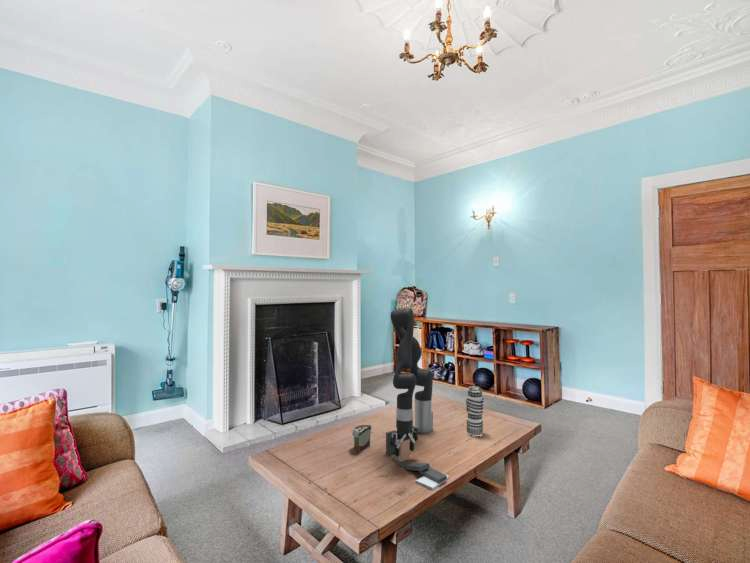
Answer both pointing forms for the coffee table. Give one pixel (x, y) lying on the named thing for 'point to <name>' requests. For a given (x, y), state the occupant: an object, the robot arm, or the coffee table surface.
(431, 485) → the external hard drive
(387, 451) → the domino
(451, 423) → the coffee table surface
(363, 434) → the food container
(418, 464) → the domino
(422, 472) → the domino
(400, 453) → the domino
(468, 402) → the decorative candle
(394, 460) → the domino
